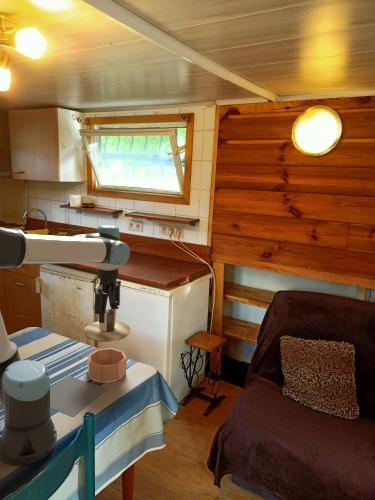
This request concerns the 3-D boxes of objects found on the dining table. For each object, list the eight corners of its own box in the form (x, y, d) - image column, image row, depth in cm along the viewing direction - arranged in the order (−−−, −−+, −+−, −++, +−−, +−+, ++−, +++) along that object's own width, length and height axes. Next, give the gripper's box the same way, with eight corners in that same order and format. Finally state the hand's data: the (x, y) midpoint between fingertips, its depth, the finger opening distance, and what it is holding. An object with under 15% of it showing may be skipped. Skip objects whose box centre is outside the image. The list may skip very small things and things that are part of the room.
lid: (112, 345, 129) (113, 324, 127) (74, 335, 136) (74, 314, 134) (138, 328, 144) (139, 309, 143) (102, 319, 151) (103, 301, 149)
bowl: (111, 387, 135) (111, 369, 133) (80, 376, 140) (80, 359, 139) (131, 370, 147) (132, 353, 146) (103, 361, 153) (103, 345, 151)
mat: (73, 418, 117) (73, 417, 116) (30, 401, 124) (30, 400, 123) (107, 390, 133) (107, 389, 133) (68, 376, 140) (68, 375, 140)
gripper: (101, 275, 125) (100, 338, 130) (130, 264, 141) (129, 321, 146) (83, 271, 128) (83, 334, 133) (114, 261, 144) (113, 317, 149)
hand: (107, 327), depth 140 cm, fingers closed on lid, 5 cm apart
